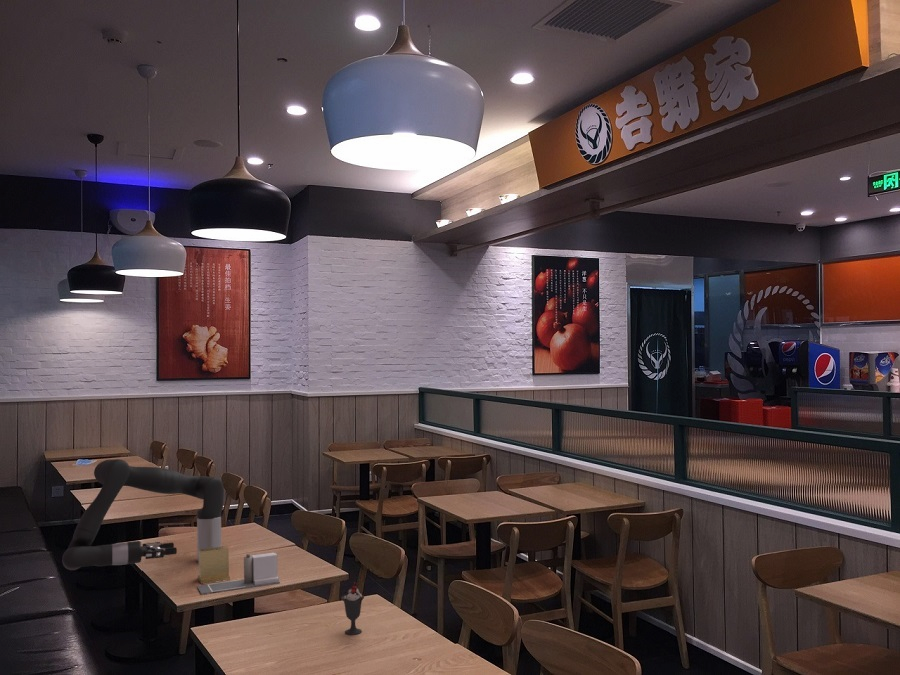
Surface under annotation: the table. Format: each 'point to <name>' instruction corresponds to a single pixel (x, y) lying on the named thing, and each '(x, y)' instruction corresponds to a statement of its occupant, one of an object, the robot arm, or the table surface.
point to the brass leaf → (213, 564)
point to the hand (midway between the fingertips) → (175, 548)
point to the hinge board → (249, 574)
